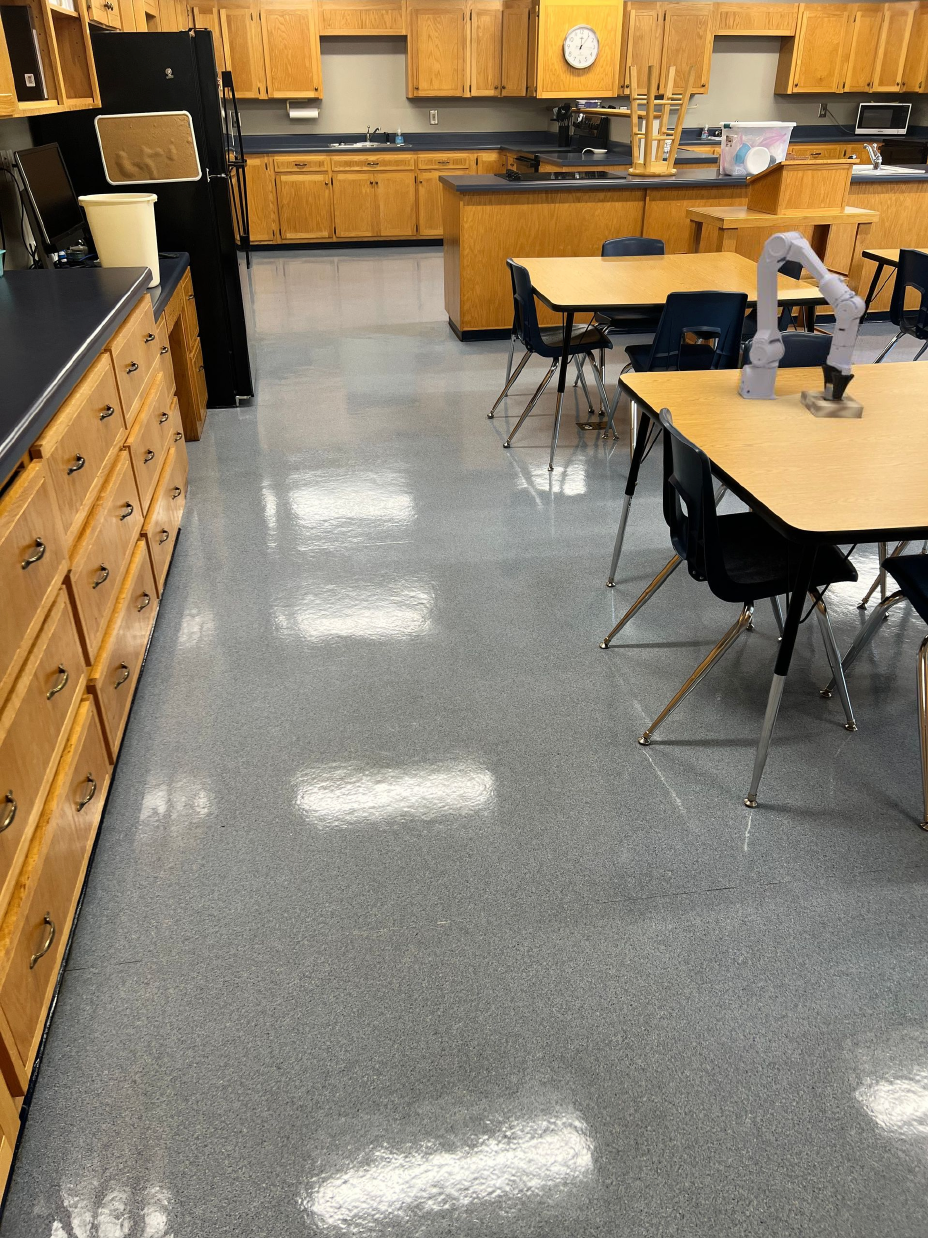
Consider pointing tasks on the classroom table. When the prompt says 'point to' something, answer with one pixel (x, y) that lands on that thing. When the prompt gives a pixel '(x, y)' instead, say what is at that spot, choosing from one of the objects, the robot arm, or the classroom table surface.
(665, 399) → the classroom table surface
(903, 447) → the classroom table surface
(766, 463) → the classroom table surface
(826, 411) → the block
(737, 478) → the classroom table surface
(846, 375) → the robot arm
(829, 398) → the pin
